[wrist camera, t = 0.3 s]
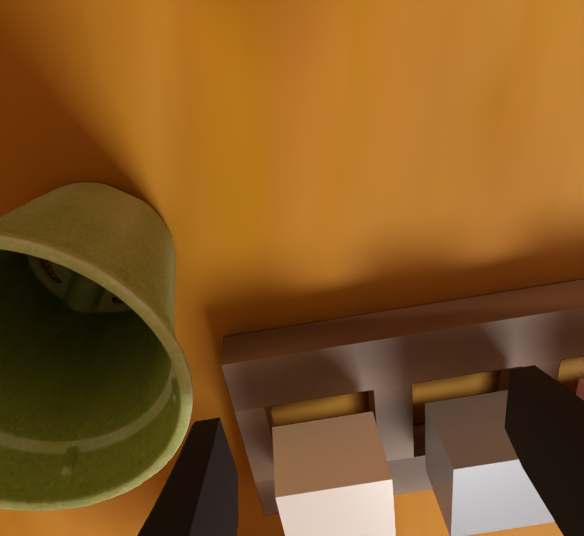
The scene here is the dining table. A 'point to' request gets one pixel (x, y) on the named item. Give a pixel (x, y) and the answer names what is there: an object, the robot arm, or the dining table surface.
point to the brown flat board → (395, 365)
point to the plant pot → (87, 349)
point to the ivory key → (333, 478)
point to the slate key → (478, 467)
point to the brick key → (580, 388)
